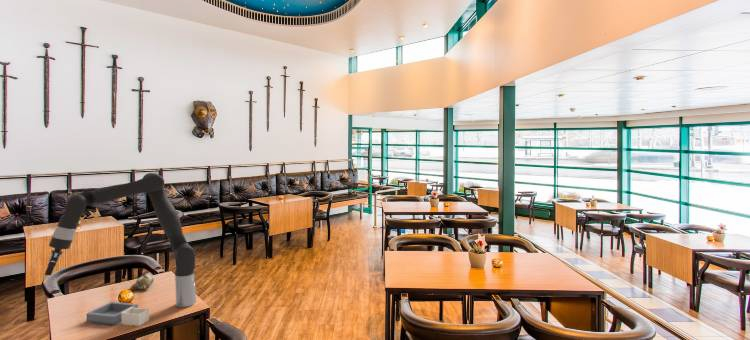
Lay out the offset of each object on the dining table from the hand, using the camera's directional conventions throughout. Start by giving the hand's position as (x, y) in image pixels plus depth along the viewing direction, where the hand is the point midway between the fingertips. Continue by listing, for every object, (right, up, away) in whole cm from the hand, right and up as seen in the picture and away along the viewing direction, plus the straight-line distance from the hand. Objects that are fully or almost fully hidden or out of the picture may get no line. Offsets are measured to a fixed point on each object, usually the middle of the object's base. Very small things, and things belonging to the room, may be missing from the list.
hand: (48, 272), depth 164 cm
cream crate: (+28, -30, +17) cm, 44 cm away
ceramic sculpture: (+5, -26, +60) cm, 66 cm away
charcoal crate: (+13, -29, +22) cm, 39 cm away
